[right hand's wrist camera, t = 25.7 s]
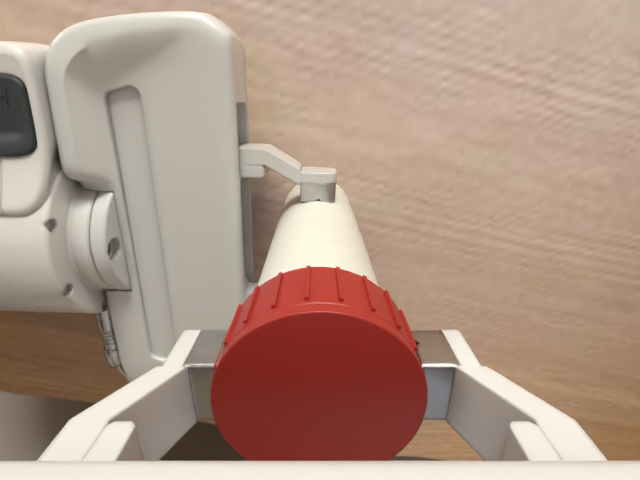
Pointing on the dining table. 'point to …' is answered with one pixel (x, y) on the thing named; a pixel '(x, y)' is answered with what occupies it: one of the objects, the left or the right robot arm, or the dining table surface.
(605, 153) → the dining table surface
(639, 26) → the dining table surface
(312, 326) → the lid
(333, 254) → the bottle
